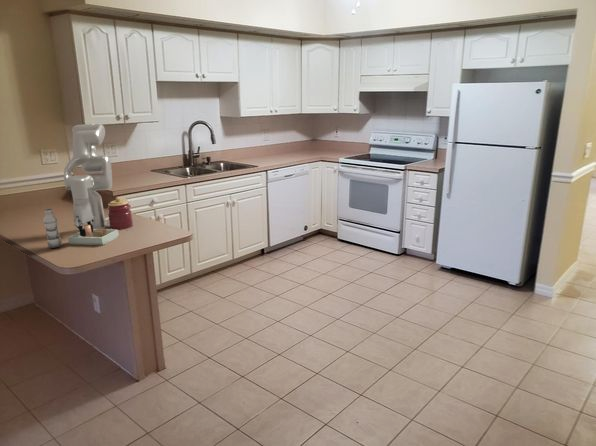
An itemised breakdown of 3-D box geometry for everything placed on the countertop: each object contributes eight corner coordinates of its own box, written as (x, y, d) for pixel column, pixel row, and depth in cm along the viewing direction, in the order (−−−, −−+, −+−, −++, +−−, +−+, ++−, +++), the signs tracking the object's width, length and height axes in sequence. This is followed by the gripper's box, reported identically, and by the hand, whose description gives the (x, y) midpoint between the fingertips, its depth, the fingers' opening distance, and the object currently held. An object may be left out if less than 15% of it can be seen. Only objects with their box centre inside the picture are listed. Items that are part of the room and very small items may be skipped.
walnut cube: (99, 237, 249) (98, 228, 248) (108, 237, 248) (106, 228, 247) (94, 240, 244) (92, 231, 243) (102, 240, 243) (101, 231, 242)
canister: (125, 230, 264) (121, 200, 259) (105, 229, 267) (100, 199, 262) (137, 223, 277) (133, 195, 272) (118, 223, 279) (113, 194, 274)
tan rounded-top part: (86, 236, 251) (84, 224, 248) (94, 236, 250) (92, 224, 247) (80, 240, 246) (78, 227, 244) (89, 240, 245) (86, 227, 243)
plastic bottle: (64, 244, 242) (57, 207, 236) (58, 249, 235) (51, 211, 230) (52, 245, 241) (45, 208, 236) (45, 249, 235) (38, 211, 229)
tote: (87, 235, 256) (85, 228, 255) (118, 236, 252) (117, 229, 251) (69, 244, 242) (68, 237, 241) (102, 245, 238) (101, 237, 237)
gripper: (85, 197, 251) (90, 229, 256) (64, 205, 235) (70, 239, 240) (97, 197, 250) (102, 229, 255) (77, 205, 233) (83, 239, 238)
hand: (87, 234), depth 247 cm, fingers open, 5 cm apart
